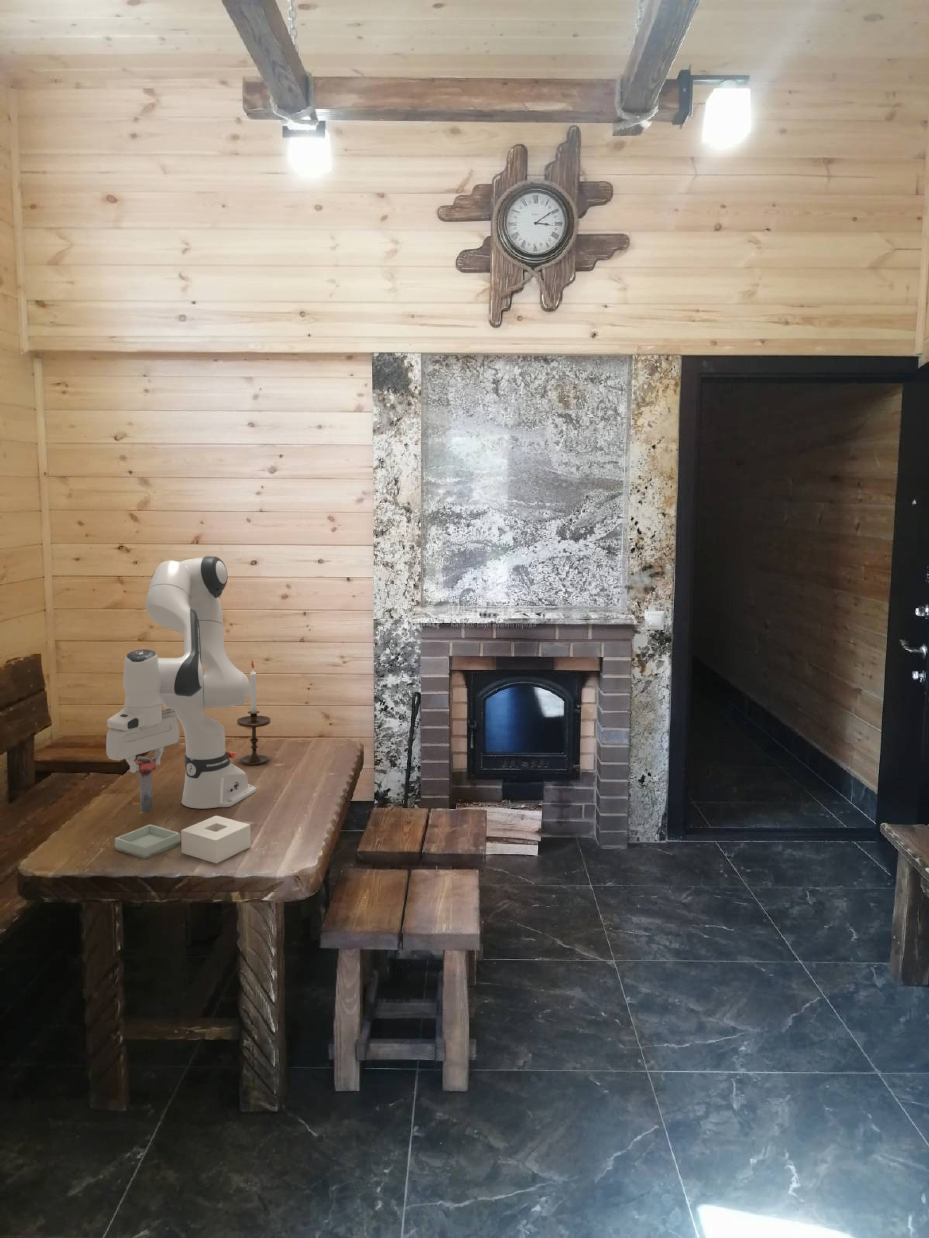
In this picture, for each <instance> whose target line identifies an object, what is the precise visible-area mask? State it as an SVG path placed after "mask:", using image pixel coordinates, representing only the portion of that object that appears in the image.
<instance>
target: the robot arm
mask: <svg viewBox="0 0 929 1238" xmlns="http://www.w3.org/2000/svg"><path fill="white" fill-rule="evenodd" d="M227 584H228V570H227V567H226V565H225V562H224V561H223V560H221V558H219V557H218V556H213V555H212V556H211V555H209V556H208V555H207V556H206V555H205V556H204V557H197V558H196V557H195V558H189V559H184V560H181V561H178V560H172V559H170V560H165V561H163V562H161V563H159V564H158V565H157V567H156V569H155V571H154V572H153V574H152V576H151V580H150V583H149V586H148V590H147V595H146V599H145V609H146V612H147V615H148V616H149V618H150V619H151V620H152V621H153V622H154V623H155V624H157V625H158V626H160V627H163V628H164V629H167V630H168V629H169V630H171V631H175V632H177V633H179V634H181V635H182V636H183V652H184V653H183V655H182V656H180V657H159V656H158V654H157V652H156V651H155V650H152V649H148V648H147V649H146V648H145V649H136V650H133V651H130V652H128V653H127V654H126V655H125V659H124V664H123V665H124V666H123V672H122V673H123V674H122V675H123V676H122V679H123V682H122V684H123V686H122V687H123V691H124V693H125V696H124V697H125V699H124V702H123V707H124V708H122V709H121V710H120V711H118V712H117V713H115V714H114V715H112V716H111V717H110V718H108V719H107V721H106V726H107V727H108V728H109V729H108V731H107V733H106V740H105V748H106V749H105V752H106V753H105V754H106V756H107V757H108V758H109V759H110V760H113V761H122V760H125V761H126V763H127V764H128V765H129V771H130V773H132V774H133V773H134V774H135V773H137V771H139V765H138V764H136V763H135V762H134V761H135V760H137V756H138V755H142V754H144V753H148V752H151V751H154V754H153V756H152V758H153V759H156V766H160V765H161V757H162V755H163V753H164V749H165V748H164V747H167V746H171V745H173V744H177V743H178V742H179V740H180V729H179V724H178V720H179V722H180V724H181V727H182V729H183V733H184V741H185V754H184V769H185V774H184V786H183V791H182V799H181V804H182V805H183V806H185V807H187V808H192V809H213V808H229V807H232V806H234V805H236V804H237V803H239V802H241V801H242V800H244V799H245V798H247V797H249V796H251V795H252V794H254V793H256V792H257V788H256V787H255V785H252V784H249V782H248V775H247V773H246V772H245V771H244V770H243V769H242V768H240V767H238V766H236V765H235V764H233V763H232V762H231V760H230V759H232V760H233V759H236V757H237V755H238V754H237V752H236V751H230V750H229V751H227V750H226V730H225V727H224V726H223V724H222V723H220V722H219V721H218V720H216V719H213V718H211V717H209V716H208V715H205V713H204V712H203V710H204V709H222V708H223V709H224V708H231V707H236V706H240V705H243V704H244V703H245V702H247V700H248V698H249V697H250V695H251V693H250V679H249V678H248V677H247V675H246V674H245V673H244V672H243V671H241V670H240V669H238V668H237V667H236V666H235V665H234V664H233V663H232V662H231V660H230V659H229V657H228V655H227V652H226V649H225V648H226V647H225V638H224V617H223V610H222V604H221V600H220V597H221V596H222V593H223V591H224V590H225V588H226V586H227ZM202 664H203V665H204V666H205V667H206V669H204V670H203V665H202ZM162 706H163V707H164V708H165V709H162V708H163V707H162Z"/></svg>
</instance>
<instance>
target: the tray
mask: <svg viewBox="0 0 929 1238" xmlns="http://www.w3.org/2000/svg"><path fill="white" fill-rule="evenodd" d="M179 845H181V832H178V831H174V830H171V829H168V828H165V827H161V826H157V825H153V824H147V825H145V826H141V827H139V828H138V829H135V830H132V831H130V832H127V833H125V834H122V835H119V836H118V837H114V848H115V849H114V850H116V851H118V852H122V853H125V854H128V855H131V856H133V857H136V858H141V859H143V860H148V859H149V858H153V857H154V856H158V855H159V854H161V853H163V852H166V851H168V850H170V849H173V848H175V847H178V846H179Z"/></svg>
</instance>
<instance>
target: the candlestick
mask: <svg viewBox="0 0 929 1238" xmlns="http://www.w3.org/2000/svg"><path fill="white" fill-rule="evenodd" d="M250 664H251V672H250V673H249V678H250V679H249V682H250V710H249V711H248V712H247V714H250V715H246V716H242V717H239V718H238V719H237V720H236V722H237V723H236V724H237V726H239V727H242V728H243V727H244V728H250V729H251V738H249V742H250V743H251V745H250V749H251V752H252V753H251V754H250V755H245V756H243V757H241V758H240V764H241V765H244V766H250V767H251V766H253V767H255V766H262V765H265V764H267V763H268V762H269V757H268V756H267V755H262V754H258V753H257V748H258V749H259V745H257V743H258V742H259V738H258V737H257V728H259V727H260V728H261V727H266V726H268V725H270V724H271V718H270V717H269V716H266V715H258V714H259V713H260V711H259V710H257V672H256V671H255V669H254V668H255V665H254V661H253V660H251V663H250Z"/></svg>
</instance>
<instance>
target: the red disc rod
mask: <svg viewBox="0 0 929 1238" xmlns="http://www.w3.org/2000/svg"><path fill="white" fill-rule="evenodd" d="M134 762H135V763H136V764H138V765H139V771H137V772H138V774H139V775H138V777H139V779H138V780H139V798H140V799H139V802H140V812H141V813H150V812H152V811H154V801H153V800H154V797H153V771H155V770H156V769H157V765H156V759H153V757H146V756H143V755H139V756H138V755H137V756H136V759H135V760H134ZM137 772H136V773H137Z"/></svg>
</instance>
